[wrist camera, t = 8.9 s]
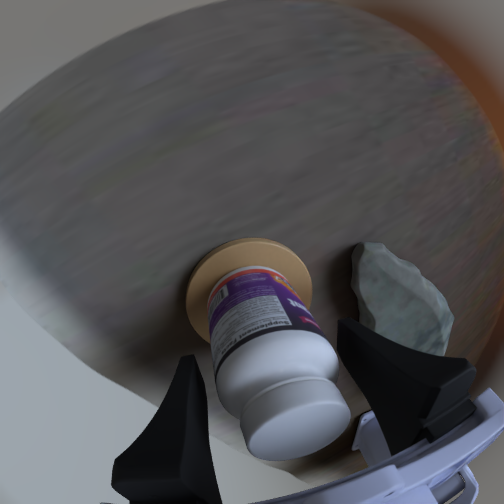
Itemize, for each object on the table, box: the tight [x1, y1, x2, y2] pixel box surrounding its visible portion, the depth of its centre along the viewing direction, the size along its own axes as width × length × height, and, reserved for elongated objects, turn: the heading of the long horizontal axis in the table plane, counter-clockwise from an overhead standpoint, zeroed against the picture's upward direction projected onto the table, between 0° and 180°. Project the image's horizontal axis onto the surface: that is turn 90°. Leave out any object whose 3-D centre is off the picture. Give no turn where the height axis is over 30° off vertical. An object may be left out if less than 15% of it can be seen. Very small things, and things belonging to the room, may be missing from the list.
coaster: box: [186, 238, 312, 344], centre depth 18 cm, size 8×8×1 cm
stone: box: [351, 242, 454, 356], centre depth 21 cm, size 17×3×10 cm
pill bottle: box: [207, 266, 351, 461], centre depth 13 cm, size 5×5×10 cm
